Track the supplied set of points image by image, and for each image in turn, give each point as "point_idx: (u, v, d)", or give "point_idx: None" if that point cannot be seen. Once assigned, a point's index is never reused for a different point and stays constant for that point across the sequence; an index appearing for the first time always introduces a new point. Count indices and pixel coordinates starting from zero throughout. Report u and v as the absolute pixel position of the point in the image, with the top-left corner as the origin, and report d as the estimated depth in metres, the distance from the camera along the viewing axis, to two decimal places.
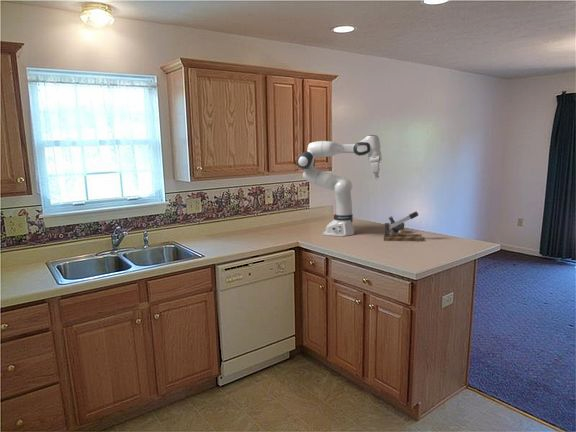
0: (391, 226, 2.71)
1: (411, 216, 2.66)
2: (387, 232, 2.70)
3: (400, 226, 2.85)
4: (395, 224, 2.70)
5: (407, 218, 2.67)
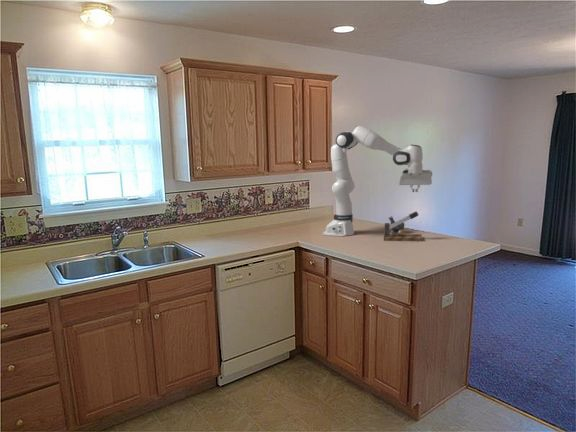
0: (391, 226, 2.71)
1: (411, 216, 2.66)
2: (387, 232, 2.70)
3: (400, 226, 2.85)
4: (395, 224, 2.70)
5: (407, 218, 2.67)
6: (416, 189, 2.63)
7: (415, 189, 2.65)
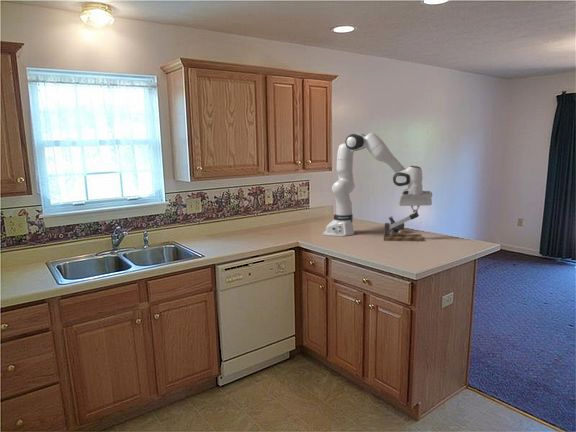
0: (391, 226, 2.71)
1: (411, 217, 2.66)
2: (387, 232, 2.70)
3: (400, 226, 2.85)
4: (395, 224, 2.70)
5: (407, 219, 2.67)
6: (416, 210, 2.65)
7: None
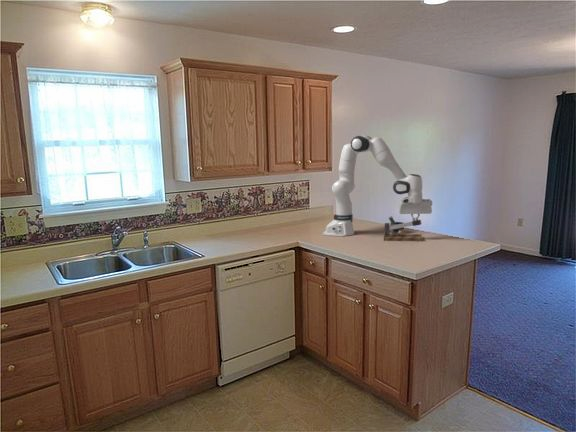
0: (392, 227, 2.71)
1: (414, 223, 2.66)
2: (387, 232, 2.70)
3: None
4: (396, 226, 2.70)
5: (409, 224, 2.67)
6: (416, 218, 2.66)
7: None
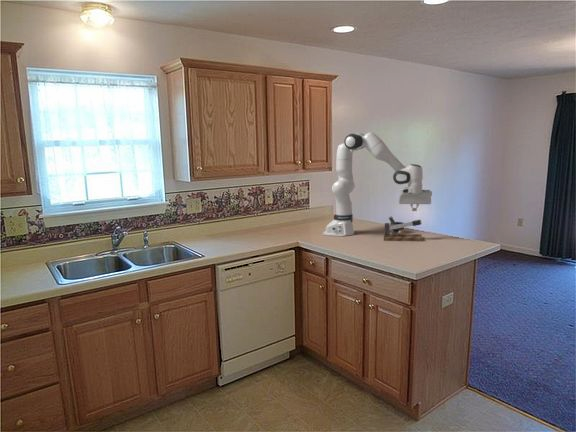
0: (392, 227, 2.71)
1: (414, 223, 2.66)
2: (387, 232, 2.70)
3: None
4: (396, 226, 2.70)
5: (409, 224, 2.67)
6: (415, 208, 2.65)
7: None
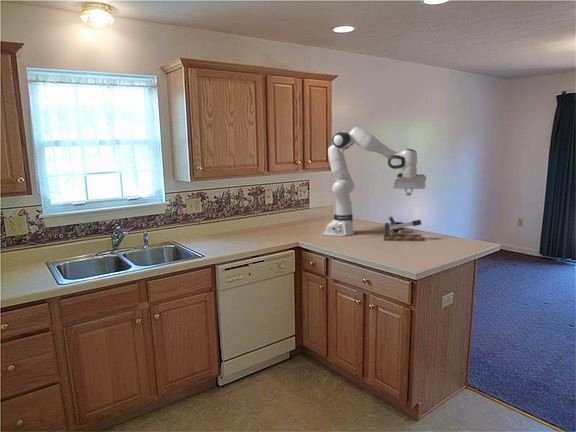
0: (392, 227, 2.71)
1: (414, 223, 2.66)
2: (387, 232, 2.70)
3: None
4: (396, 226, 2.70)
5: (409, 224, 2.67)
6: (409, 193, 2.67)
7: (408, 193, 2.69)
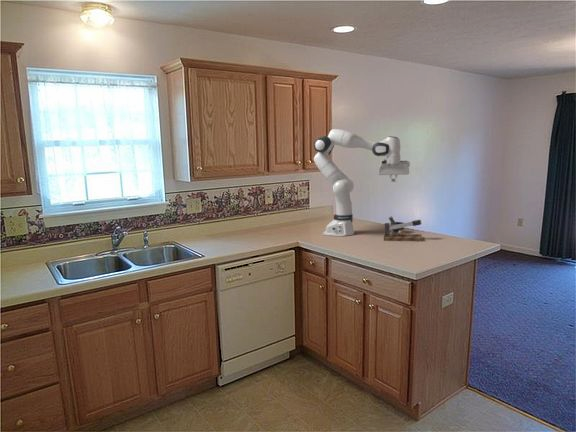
0: (392, 227, 2.71)
1: (414, 223, 2.66)
2: (387, 232, 2.70)
3: None
4: (396, 226, 2.70)
5: (409, 224, 2.67)
6: (394, 179, 2.75)
7: (393, 179, 2.77)
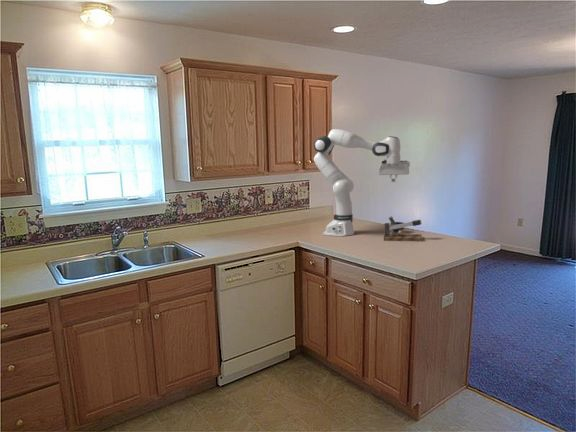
0: (392, 227, 2.71)
1: (414, 223, 2.66)
2: (387, 232, 2.70)
3: None
4: (396, 226, 2.70)
5: (409, 224, 2.67)
6: (394, 179, 2.75)
7: (393, 179, 2.77)
